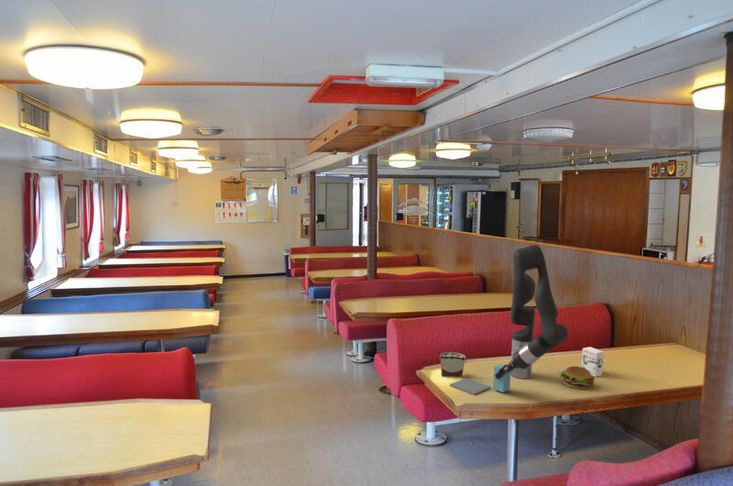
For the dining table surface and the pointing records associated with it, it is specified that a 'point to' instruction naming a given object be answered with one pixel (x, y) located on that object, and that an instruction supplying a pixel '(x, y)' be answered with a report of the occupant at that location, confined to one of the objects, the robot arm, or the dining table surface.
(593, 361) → the ink box
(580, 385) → the food
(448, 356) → the food container
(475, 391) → the grey mat
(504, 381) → the teal block
